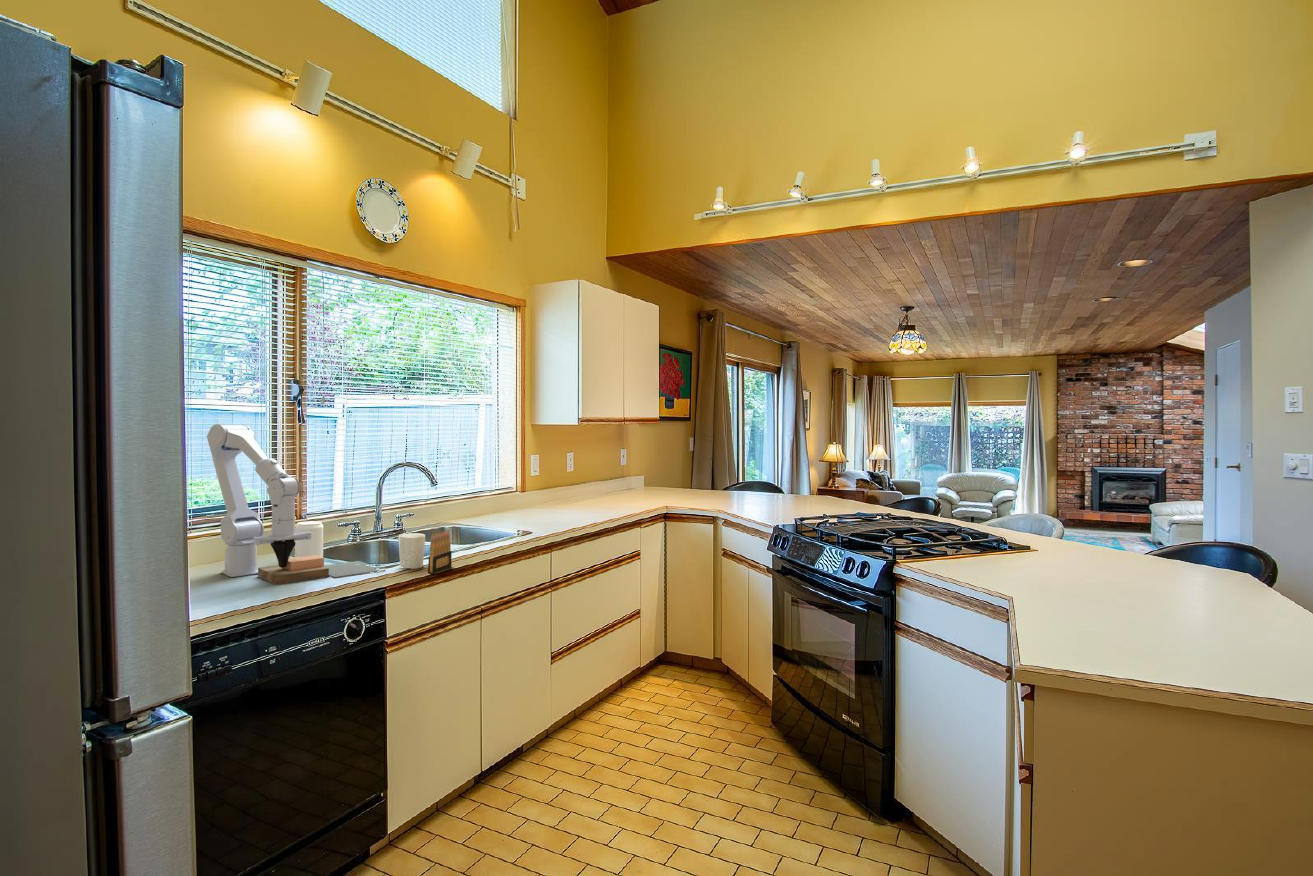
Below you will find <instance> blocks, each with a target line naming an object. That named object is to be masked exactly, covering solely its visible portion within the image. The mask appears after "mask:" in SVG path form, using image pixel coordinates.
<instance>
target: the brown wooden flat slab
mask: <svg viewBox="0 0 1313 876" xmlns="http://www.w3.org/2000/svg"><path fill="white" fill-rule="evenodd" d="M257 570H258V574H257V577H259V578H260V579H263V580H265V581H268V582H269V583H271V584H273V585H276V586H277V585H283V584H289V583H297V582H304V581H311V580H316V579H322V578H324V579H325V578H329V577H330V576H329V568H327V567H324V566H321V567H313V568H306V569H299V570H288V569H286V568H281V567H279V564H277V565H276V564H275V565H269V566H261V567H257Z"/></svg>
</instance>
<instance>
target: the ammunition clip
mask: <svg viewBox="0 0 1313 876" xmlns="http://www.w3.org/2000/svg"><path fill="white" fill-rule="evenodd" d="M452 567H453V566H452V550H451V533H450V529H447V530H444V531H438V533H437V532H435V534H434V533H432V534H431V536H430V547H429V555H428V566H427V573H428V574H431V575H432V574H433V575H434V574H437V573H440V572H442V571H445V570H447V569H450V568H452Z"/></svg>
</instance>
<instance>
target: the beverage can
mask: <svg viewBox="0 0 1313 876" xmlns="http://www.w3.org/2000/svg"><path fill="white" fill-rule="evenodd" d="M302 532H310V533H311V539H308V540H307V539H304V540H295V541H294V542H296V544H295V547H294V558H296V557H304V556H312V555H317V556H320V557H323V558H324V525H323V522H322V521H317V520H312V521H311V520H309V521H299V522H297V523H296V525H295V533H302Z"/></svg>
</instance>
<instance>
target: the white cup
mask: <svg viewBox="0 0 1313 876" xmlns="http://www.w3.org/2000/svg"><path fill="white" fill-rule="evenodd" d="M425 545H426V534H424V533H415V532H414V533H403V534H399V535H398V553H399V567H400V566H401V567H403V568H411V569H410V570H415V569H420V568H423V566H424V558H425ZM403 568H402V569H403Z"/></svg>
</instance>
